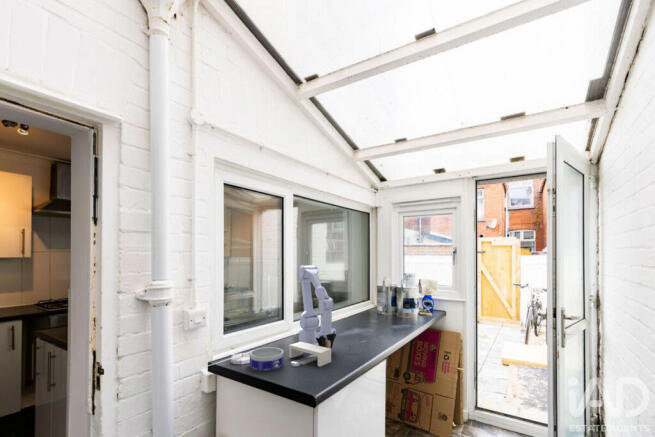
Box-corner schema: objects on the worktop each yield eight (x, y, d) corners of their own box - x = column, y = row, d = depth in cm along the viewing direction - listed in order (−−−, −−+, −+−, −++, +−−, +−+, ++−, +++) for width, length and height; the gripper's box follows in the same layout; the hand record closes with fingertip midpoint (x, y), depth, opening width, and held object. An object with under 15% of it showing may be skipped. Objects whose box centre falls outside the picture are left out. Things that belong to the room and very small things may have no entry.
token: (288, 365, 148) (288, 362, 148) (295, 363, 151) (295, 359, 152) (295, 368, 145) (295, 364, 145) (302, 365, 148) (302, 362, 149)
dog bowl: (268, 373, 138) (269, 359, 139) (242, 367, 145) (242, 353, 146) (289, 363, 151) (290, 349, 152) (264, 358, 159) (264, 345, 159)
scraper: (295, 362, 152) (295, 348, 152) (323, 352, 168) (323, 339, 168) (303, 365, 148) (303, 350, 149) (331, 354, 165) (331, 340, 165)
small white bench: (289, 357, 159) (289, 344, 159) (300, 353, 165) (300, 341, 166) (320, 366, 146) (320, 352, 147) (331, 362, 152) (331, 348, 153)
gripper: (323, 325, 159) (323, 354, 157) (340, 321, 170) (340, 347, 168) (312, 323, 163) (312, 351, 162) (330, 319, 174) (330, 345, 173)
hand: (326, 349), depth 165 cm, fingers open, 6 cm apart
